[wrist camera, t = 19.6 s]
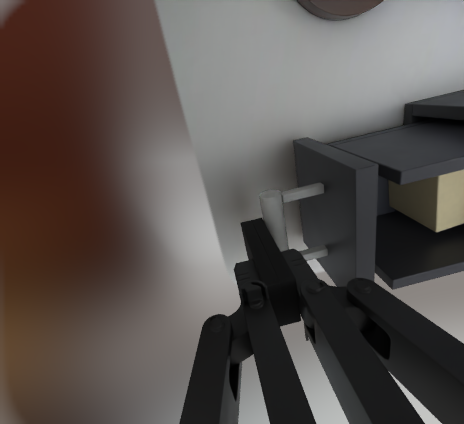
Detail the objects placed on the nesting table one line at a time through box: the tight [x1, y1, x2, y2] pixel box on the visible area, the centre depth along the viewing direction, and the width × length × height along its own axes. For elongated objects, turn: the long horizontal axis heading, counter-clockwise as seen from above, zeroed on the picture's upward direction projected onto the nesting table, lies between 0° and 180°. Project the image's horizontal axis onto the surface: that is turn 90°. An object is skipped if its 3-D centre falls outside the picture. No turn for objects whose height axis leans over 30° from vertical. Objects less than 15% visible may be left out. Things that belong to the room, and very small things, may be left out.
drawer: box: [259, 118, 464, 289], centre depth 19 cm, size 19×10×9 cm, turn 102°
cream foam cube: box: [388, 170, 464, 232], centre depth 20 cm, size 5×5×5 cm
